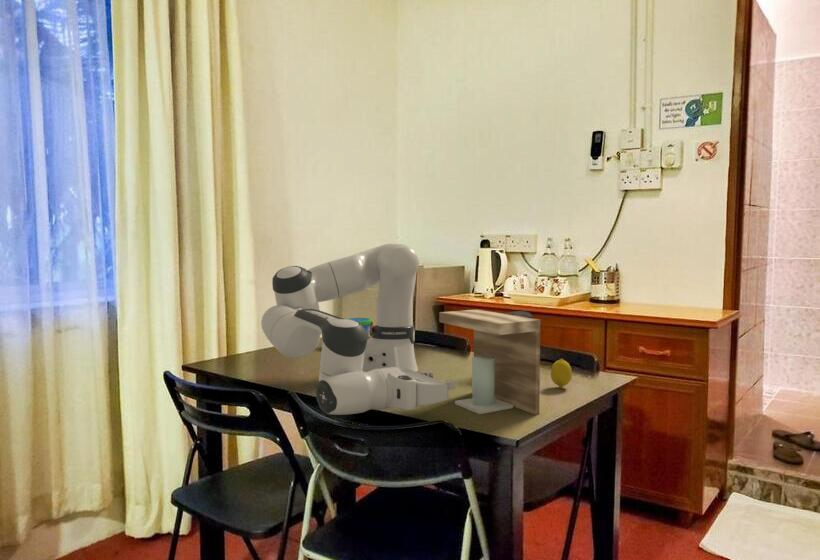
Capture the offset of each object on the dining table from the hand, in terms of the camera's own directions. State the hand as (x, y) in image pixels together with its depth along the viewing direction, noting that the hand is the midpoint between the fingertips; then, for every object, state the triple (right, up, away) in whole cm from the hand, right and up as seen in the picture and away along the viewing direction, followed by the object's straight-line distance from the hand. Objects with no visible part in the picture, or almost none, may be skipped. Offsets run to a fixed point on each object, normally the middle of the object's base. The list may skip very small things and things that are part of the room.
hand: (442, 379), depth 142 cm
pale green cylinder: (+10, -7, +7) cm, 14 cm away
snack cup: (-27, -2, +89) cm, 93 cm away
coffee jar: (+25, -5, +44) cm, 50 cm away
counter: (+11, -7, +7) cm, 15 cm away
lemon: (+34, -6, +24) cm, 42 cm away
